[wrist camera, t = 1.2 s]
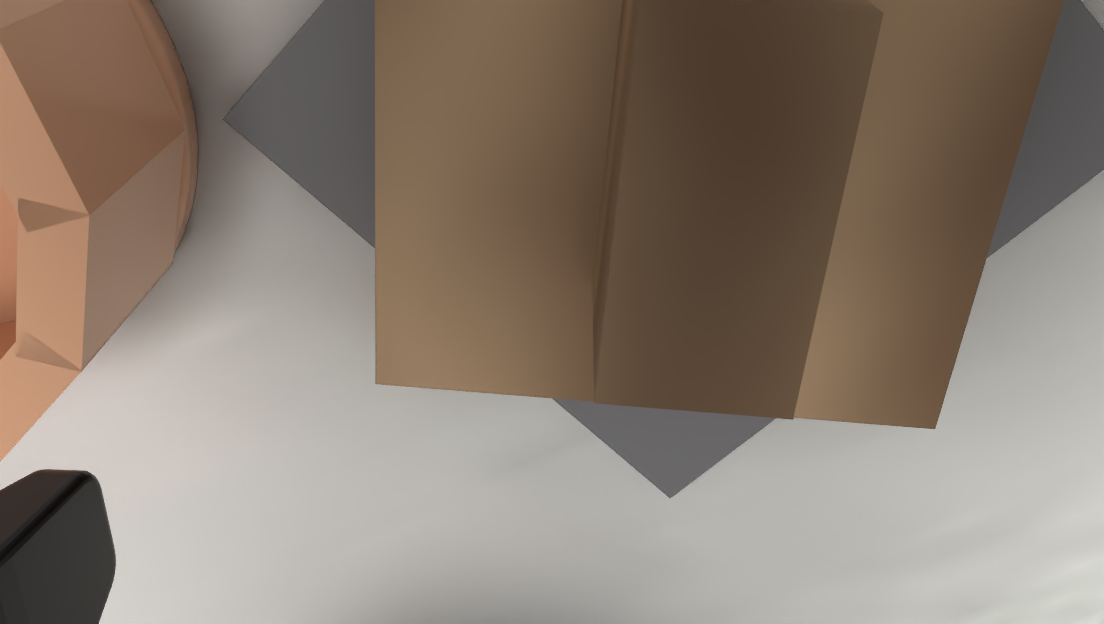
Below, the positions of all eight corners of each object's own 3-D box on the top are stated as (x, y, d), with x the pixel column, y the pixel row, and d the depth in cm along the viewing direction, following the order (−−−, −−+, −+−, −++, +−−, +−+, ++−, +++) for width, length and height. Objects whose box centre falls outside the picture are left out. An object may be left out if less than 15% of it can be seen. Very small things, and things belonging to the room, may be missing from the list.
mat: (1160, 111, 19) (1171, 117, 18) (668, 487, 23) (670, 498, 22) (718, -459, 15) (722, -466, 15) (229, 113, 19) (223, 119, 19)
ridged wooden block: (1092, -195, 16) (1287, -184, 12) (920, 401, 21) (1009, 568, 17) (386, -257, 16) (309, -270, 11) (384, 358, 21) (331, 514, 17)
